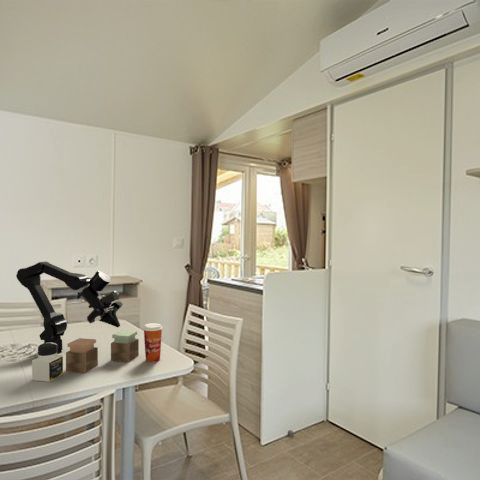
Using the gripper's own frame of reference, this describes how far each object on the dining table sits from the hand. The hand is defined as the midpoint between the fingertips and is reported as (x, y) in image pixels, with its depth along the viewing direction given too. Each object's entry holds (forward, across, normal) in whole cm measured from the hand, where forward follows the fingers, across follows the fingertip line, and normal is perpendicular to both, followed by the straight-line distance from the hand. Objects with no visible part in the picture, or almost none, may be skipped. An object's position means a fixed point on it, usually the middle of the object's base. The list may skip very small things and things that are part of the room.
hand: (119, 326), depth 156 cm
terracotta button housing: (+4, -14, +14) cm, 20 cm away
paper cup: (+20, +1, -1) cm, 20 cm away
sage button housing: (+11, 0, +7) cm, 13 cm away
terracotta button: (+2, -14, +12) cm, 19 cm away
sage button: (+9, 0, +5) cm, 10 cm away
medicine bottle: (-1, -25, +19) cm, 31 cm away
